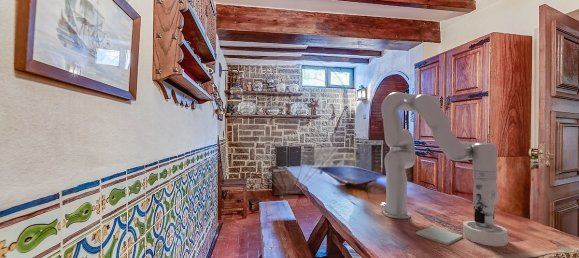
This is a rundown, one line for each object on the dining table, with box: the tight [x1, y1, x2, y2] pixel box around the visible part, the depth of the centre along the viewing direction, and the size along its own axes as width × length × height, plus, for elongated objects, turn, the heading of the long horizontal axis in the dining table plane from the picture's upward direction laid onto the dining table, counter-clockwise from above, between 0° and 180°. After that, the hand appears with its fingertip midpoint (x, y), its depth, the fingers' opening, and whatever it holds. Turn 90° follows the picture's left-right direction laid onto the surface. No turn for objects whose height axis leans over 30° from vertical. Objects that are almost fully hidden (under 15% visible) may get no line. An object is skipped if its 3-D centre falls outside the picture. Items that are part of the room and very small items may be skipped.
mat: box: [415, 225, 464, 246], centre depth 105 cm, size 12×12×1 cm
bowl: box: [462, 220, 509, 247], centre depth 102 cm, size 13×13×4 cm
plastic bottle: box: [474, 186, 496, 233], centre depth 102 cm, size 6×7×20 cm
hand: (484, 220), depth 102 cm, fingers open, 8 cm apart
